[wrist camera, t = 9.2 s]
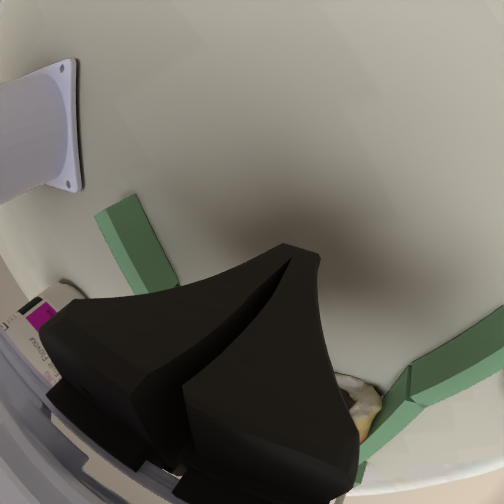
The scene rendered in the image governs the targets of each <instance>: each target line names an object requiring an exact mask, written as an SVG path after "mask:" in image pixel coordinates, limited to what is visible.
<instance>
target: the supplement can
mask: <svg viewBox="0 0 504 504" xmlns="http://www.w3.org/2000/svg"><path fill="white" fill-rule="evenodd" d="M73 299H86V298H85V297H84V296H83V295H82V293H80V292H79V291H78V290H77V289H75V288H74V287H73V286H71V285H68V284H61V283H59V282H57V283H54V284H53V285H51V286H50V287H49V288H47V289H46V290H44V291H43V292H42V293H40V294H39V295H38V296H36V297H35V298H34V299H33V300H31V301H30V302H29V303H27V304H26V305H25V306H23V307H22V308H21V309H20V310H18V311H17V312H16V313H15V314H13V315H12V316H11V317H10V318H8V319H7V320H6V321H5V322H3V323H2V324H1V325H0V326H1V327H2V329H3V330H4V331H5V332H6V334H7V335H8V336H9V338H10V339H11V340H12V341H13V342H14V344H15V345H16V346H17V347H18V348H19V350H20V351H21V352H22V353H23V354H24V355H25V357H26V358H27V359H28V360H29V361H30V362H31V363H32V364H33V365H34V367H35V368H36V369H37V370H38V371H39V372H40V373H41V374H42V375H43V376H44V377H45V378H46V379H47V380H48V381H49V382H50V383H51V384H52V385H53V386H54V385H55V384H56V383H57V382H58V381H59V380H60V379H61V378H62V377H61V375H60V374H59V372H58V371H57V369H56V368H55V366H54V364H53V363H52V361H51V359H50V358H49V356H48V354H47V353H46V351H45V349H44V347H43V345H42V343H41V341H40V338H39V327H40V326H41V325H43V324H44V323H45V322H46V321H47V320H49V319H50V318H51V317H52V316H54V315H55V314H56V313H57V312H58V311H60V310H61V309H62V308H63V307H65V306H66V305H67V304H68V303H70V302H71V301H72V300H73ZM50 412H51V411H50Z"/></svg>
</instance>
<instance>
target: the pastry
mask: <svg viewBox="0 0 504 504" xmlns="http://www.w3.org/2000/svg"><path fill="white" fill-rule="evenodd" d="M335 377H336V380H337V383H338V385H339V388H340V390H341V393H342V395H343V398H344V400H345V403H346V405H347V407H348V409H349V412H350V414H351V416H352V418H353V420H354V422H355V424H356V427H357V429H358V431H359V433H360V444H361V443H362V442H363V441H364V439H365V438H366V437H367V435H368V432H369V430H370V427H371V423H372V421H373V419H374V417H375V416H376V414H377V413H378V412H379V411H380V410H381V409H382V399H381V397H380V396H379V394H378V393H377V392H376V391H375V388H374V387H373V386H372V385H368V384H366V383H365V381H363V380H361V379H358V378H355V377H352V376H348V375H342V374H337V373H335Z"/></svg>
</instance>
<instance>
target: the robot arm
mask: <svg viewBox="0 0 504 504" xmlns="http://www.w3.org/2000/svg"><path fill="white" fill-rule="evenodd" d="M42 184H46V185H49V186H52V187H56V188H59V189H62V190H66V191H69V192H72V193H77V192H79V191H81V188H82V182H81V174H80V165H79V154H78V141H77V124H76V61H75V59H74V58H69V59H65V60H62V61H59V62H57V63H54V64H51V65H49V66H46V67H44V68H41V69H39V70H37V71H34V72H32V73H30V74H27V75H25V76H23V77H21V78H19V79H16V80H11V81H7V82H3V83H0V205H1V204H3V203H5V202H7V201H9V200H11V199H13V198H15V197H17V196H19V195H21V194H23V193H25V192H27V191H29V190H31V189H33V188H36V187H38V186H40V185H42ZM320 260H321V257H320V256H319V254H317V253H314V252H311V251H307V250H304V249H301V248H298V247H295V246H291V245H288V244H285V243H282V244H280V245H278V246H276V247H274V248H272V249H270V250H269V251H267V252H265V253H263V254H261V255H259V256H257V257H255V258H253V259H251V260H249V261H247V262H245V263H243V264H241V265H239V266H237V267H234V268H232V269H230V270H227V271H225V272H222V273H220V274H218V275H215V276H212V277H210V278H207V279H204V280H201V281H197V282H194V283H191V284H188V285H184V286H180V287H175V288H171V289H167V290H162V291H158V292H153V293H147V294H140V295H133V296H125V297H115V298H95V299H73V300H72V301H71V302H70V303H68V304H67V305H66V306H65V307H63V308H62V309H61V310H60V311H58V312H57V313H56V314H55V315H54V316H52V317H51V318H50V319H49V320H47V321H46V322H45V323H44V324H43V325H41V326H40V327H39V338H40V341H41V343H42V345H43V347H44V349H45V351H46V353H47V354H48V356H49V358H50V359H51V361H52V363H53V364H54V366H55V368H56V369H57V371H58V372H59V374H60V375H61V377H62V378H61V379H60V380H59V381H58V382H57V383H56V384H55V385H54V386H53V385H52V384H51V383H50V382H49V381H48V380H47V379H46V378H45V377H44V376H43V375H42V374H41V373H40V372H39V371H38V370H37V369H36V368H35V367H34V365H33V364H32V363H31V362H30V361H29V360H28V359H27V358H26V357H25V355H24V354H23V353H22V352H21V351H20V350H19V348H18V347H17V346H16V345H15V344H14V342H13V341H12V340H11V339H10V338H9V336H8V335H7V334H6V332H5V331H4V330H3V329H2V327H1V326H0V504H131V503H130V502H128V501H127V500H125V499H123V498H122V497H121V496H119V495H118V494H116V493H115V492H113V491H112V490H111V489H109V488H108V487H107V486H105V485H104V484H102V483H101V482H100V481H99V480H97V479H96V478H95V477H93V476H92V475H91V474H90V473H88V472H87V471H86V470H85V469H84V468H82V467H83V465H84V464H85V463H86V462H87V461H88V459H89V458H88V456H87V455H86V454H85V453H83V452H82V451H81V450H80V449H79V448H78V447H77V446H76V445H74V444H73V443H72V442H71V441H70V440H69V439H68V438H67V437H66V436H65V435H64V434H63V433H62V432H61V431H60V430H59V429H58V428H57V427H56V426H55V425H54V424H53V423H52V422H51V412H52V413H53V414H54V415H55V416H56V417H57V418H58V419H59V420H60V421H61V422H62V423H63V424H64V425H65V426H66V427H67V428H68V429H69V430H71V431H72V432H73V433H74V434H75V435H76V436H77V437H78V438H79V439H81V440H82V441H83V442H84V443H85V444H87V445H88V446H89V447H90V448H91V449H92V450H94V451H95V452H96V453H97V454H99V455H100V456H101V457H102V458H104V459H105V460H106V461H108V462H109V463H110V464H112V465H113V466H114V467H116V468H117V469H118V470H120V471H121V472H122V473H124V474H125V475H127V476H128V477H130V478H131V479H133V480H134V481H136V482H137V483H139V484H140V485H142V486H143V487H145V488H147V489H148V490H150V491H151V492H153V493H155V494H156V495H158V496H160V497H161V498H163V499H165V500H167V501H168V502H170V503H172V504H329V503H330V501H331V500H333V499H335V498H337V497H339V496H341V495H343V494H345V493H347V492H349V491H350V490H351V489H352V488H353V486H354V483H355V480H356V476H357V471H358V465H359V454H360V433H359V431H358V429H357V427H356V424H355V422H354V420H353V418H352V416H351V414H350V412H349V409H348V407H347V405H346V403H345V400H344V398H343V395H342V393H341V390H340V388H339V385H338V383H337V380H336V377H335V373H334V370H333V367H332V364H331V361H330V358H329V355H328V352H327V348H326V344H325V340H324V335H323V331H322V326H321V320H320V313H319V305H318V293H317V271H318V267H319V263H320ZM50 411H51V412H50ZM162 469H164V470H166V471H167V472H169V473H171V474H174V475H176V476H182V478H181V479H180V480H179V479H178V478H176V477H174V476H172V475H170V474H169V473H167V472H165V471H164V470H162Z"/></svg>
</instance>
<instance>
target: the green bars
mask: <svg viewBox="0 0 504 504" xmlns="http://www.w3.org/2000/svg"><path fill="white" fill-rule="evenodd" d="M94 218H95V220H96V222H97V224H98V226H99V228H100V230H101V232H102V234H103V236H104V238H105V240H106V242H107V244H108V246H109V248H110V250H111V252H112V254H113V256H114V258H115V260H116V261H117V263H118V265H119V267H120V269H121V271H122V273H123V274H124V276H125V278H126V280H127V281H128V283H129V285H130V287H131V288H132V290H133V292H134V294H135V295H140V294H147V293H153V292H158V291H162V290H167V289H171V288H175V287H180V286H177V285H176V284H177V283H178V282H179V281H178V279H177V277H176V275H175V273H174V271H173V270H172V268H171V266H170V264H169V262H168V260H167V258H166V256H165V254H164V252H163V250H162V248H161V246H160V244H159V242H158V240H157V238H156V236H155V234H154V232H153V230H152V228H151V226H150V224H149V222H148V220H147V218H146V216H145V213H144V211H143V209H142V207H141V205H140V203H139V201H138V198H137V196H136V194H134V195H132V196H130V197H128V198H126V199H124V200H122V201H120V202H118V203H116V204H114V205H112V206H110V207H108V208H106V209H105V210H103V211H101V212H100V213H98V214H96V215H95V216H94ZM503 368H504V306H502V307H500V308H499V309H498V310H496V311H495V312H493V313H492V314H491V315H489V316H488V317H486V318H485V319H484V320H482V321H481V322H479V323H478V324H476V325H475V326H473V327H472V328H470V329H469V330H467V331H466V332H464V333H462V334H461V335H459V336H458V337H456V338H454V339H453V340H451V341H450V342H448V343H446V344H445V345H443V346H441V347H439V348H438V349H436V350H434V351H432V352H431V353H429V354H427V355H425V356H423V357H422V358H420V359H418V360H416V361H414V362H412V367H409V366H408V367H407V368H406V369H405V371H404V372H403V373H402V375H401V376H400V377H399V379H398V380H397V381H396V383H395V384H394V385H393V387H392V388H391V389H390V390H389V392H388V393H387V394H386V395H385V397H384V398H383V399H382V409H381V410H380V411H379V412H378V413H377V414H376V416H375V417H374V419H373V421H372V423H371V427H370V430H369V432H368V435H367V437H366V438H365V439H364V441H363V442H362V443H361V444H360V454H359V465H358V471H357V476H356V480H355V483H354V486H353V488H354V487H356V486H358V485H359V484H361V482H362V478H363V475H364V471H365V468H366V464H367V462H364V461H365V460H367V459H368V458H369V457H371V456H372V455H373V454H374V453H376V452H377V451H378V450H379V449H381V448H382V447H383V446H384V445H385V444H387V443H388V442H389V441H390V440H391V439H393V438H394V437H395V436H396V435H397V434H398V433H399V432H401V431H402V430H403V429H404V428H405V427H406V426H407V425H408V424H409V423H410V422H411V421H413V420H414V419H415V418H416V417H417V416H418V415H419V414H420V413H421V412H422V411H423V410H424V409H425V408H426V407H428V406H430V405H433V404H435V403H437V402H440V401H442V400H444V399H446V398H448V397H451V396H453V395H455V394H457V393H459V392H461V391H463V390H465V389H467V388H469V387H471V386H473V385H475V384H476V383H478V382H480V381H482V380H484V379H486V378H487V377H489V376H491V375H493V374H494V373H496V372H498V371H499V370H501V369H503ZM345 495H346V493H345V494H343V495H341V496H339V497H337V498H336V501H335V503H334V504H342V503H343V501H344V498H345Z"/></svg>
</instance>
